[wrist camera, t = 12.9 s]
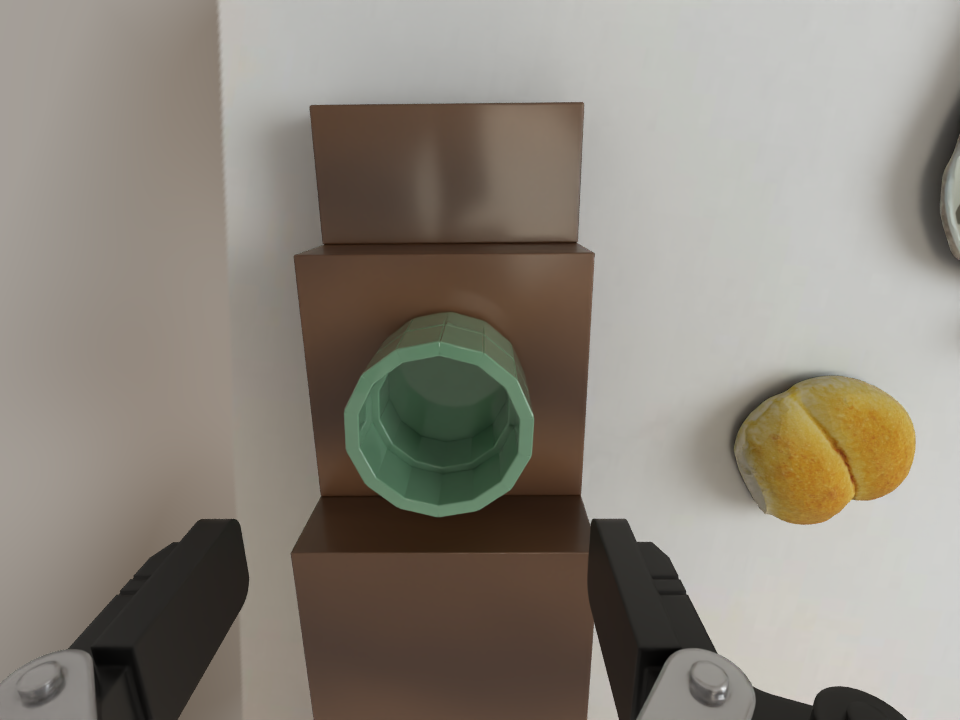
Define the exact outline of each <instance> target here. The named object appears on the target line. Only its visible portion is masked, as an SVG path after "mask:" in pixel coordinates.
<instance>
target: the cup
mask: <svg viewBox="0 0 960 720" xmlns="http://www.w3.org/2000/svg"><path fill="white" fill-rule="evenodd" d="M344 428H345V448H346V451H347V453H348V455H349V457H350V459H351V460H352V462H353V464H354V466H355V467H356V469H357V471H358V473H359V474H360V476H361V478H362V480H363V481H364V483H365V484H366V485H367V486H368V487H369V488H371V489H372V490H373V491H375V492H376V493H378V494H379V495H380V496H382V497H383V498H385V499H386V500H387V501H389V502H390V503H392V504H393V505H394V506H396V507H397V508H398V507H399V508H400V509H403V510H408V511H412V512H416V513H421V514H425V515H429V516H434V517H444V516H450V515H456V514H462V513H468V512H474V511H477V510H480V509H482V508H483V507H485V506H486V505H488V504H490V503H491V502H493V501H494V500H496V499H497V498H499V497H500V496H502V495H504V494H505V493H507V492H508V491H510V490H511V489H512V488H513V486H514V484H515V483H516V481H517V479H518V478H519V476H520V475H521V473H522V471H523V470H524V468H525V466H526V465H527V463H528V462H529V460H530V458H531V456H532V447H533V432H534V414H533V410H532V405H531V401H530V396H529V391H528V387H527V382H526V378H525V373H524V371H523V369H522V366H521V364H520V362H519V359H518V357H517V355H516V353H515V350H514V348H513V346H512V344H511V343H510V342H509V341H508V340H507V339H506V338H505V337H503V336H502V335H501V334H500V333H499V332H497V331H496V330H495V329H494V328H493V327H491V326H490V325H489V324H488V323H487V322H485V321H483V320H480V319H476V318H472V317H468V316H465V315H461V314H457V313H453V312H449V313H448V312H443V313H437V314H432V315H427V316H422V317H416V318H414V319H411V320H410V321H408V322H407V323H406V324H404V325H403V326H402V327H400V328H399V329H398V330H396V331H395V332H394V333H392V334H391V335H390V336H388V337H387V338H386V339H385V341H384V342H383V343H382V345H381V346H380V348H379V349H378V351H377V352H376V354H375V355H374V357H373V358H372V360H371V361H370V363H369V364H368V366H367V367H366V369H365V370H364V372H363V373H362V375H361V376H360V378H359V380H358V382H357V384H356V386H355V388H354V391H353V393H352V395H351V397H350V399H349V401H348V403H347V405H346V407H345V409H344Z"/></svg>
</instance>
